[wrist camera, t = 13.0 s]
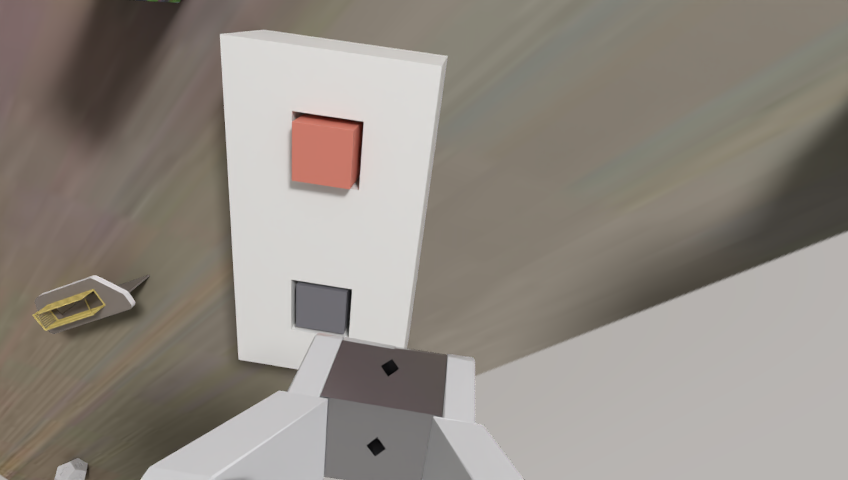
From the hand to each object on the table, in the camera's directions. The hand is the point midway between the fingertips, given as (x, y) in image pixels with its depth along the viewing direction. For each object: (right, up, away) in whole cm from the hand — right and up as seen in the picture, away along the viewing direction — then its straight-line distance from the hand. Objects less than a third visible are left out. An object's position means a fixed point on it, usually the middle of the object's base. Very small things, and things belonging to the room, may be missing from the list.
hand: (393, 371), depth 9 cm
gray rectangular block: (-7, -1, +34) cm, 35 cm away
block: (-6, +6, +33) cm, 34 cm away
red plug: (-6, +10, +27) cm, 30 cm away
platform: (-30, -1, +39) cm, 49 cm away
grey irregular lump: (-43, -26, +52) cm, 72 cm away
